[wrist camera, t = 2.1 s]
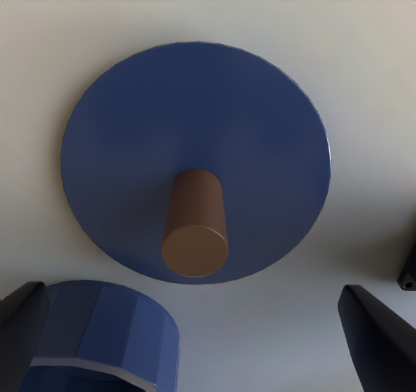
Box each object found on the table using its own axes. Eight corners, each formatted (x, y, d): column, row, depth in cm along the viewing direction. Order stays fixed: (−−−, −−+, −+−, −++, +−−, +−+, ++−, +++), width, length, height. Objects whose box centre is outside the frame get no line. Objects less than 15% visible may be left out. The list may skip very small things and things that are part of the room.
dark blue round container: (177, 280, 19) (170, 357, 15) (181, 381, 25) (176, 457, 20) (-9, 279, 19) (-72, 356, 14) (39, 381, 24) (4, 457, 20)
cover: (354, 45, 12) (452, 59, 7) (298, 272, 19) (331, 360, 14) (39, 35, 12) (-73, 44, 7) (92, 270, 18) (53, 359, 14)
